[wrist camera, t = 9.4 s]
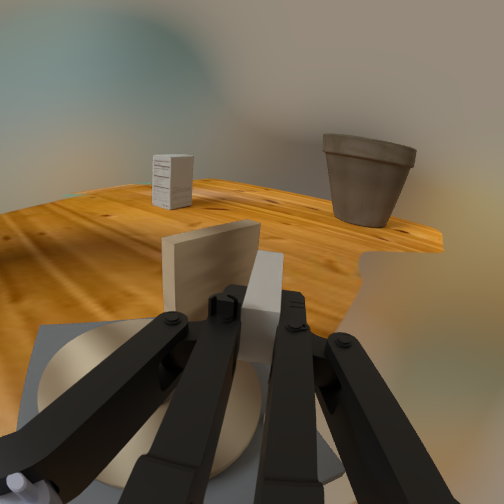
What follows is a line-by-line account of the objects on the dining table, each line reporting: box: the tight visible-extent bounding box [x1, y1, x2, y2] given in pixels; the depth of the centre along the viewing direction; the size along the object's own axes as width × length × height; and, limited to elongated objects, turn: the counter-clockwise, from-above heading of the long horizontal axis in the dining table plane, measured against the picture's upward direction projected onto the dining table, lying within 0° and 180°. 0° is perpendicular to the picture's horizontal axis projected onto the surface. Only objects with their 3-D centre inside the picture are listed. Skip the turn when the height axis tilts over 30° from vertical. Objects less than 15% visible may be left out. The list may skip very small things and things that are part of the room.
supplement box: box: [152, 154, 194, 210], centre depth 70 cm, size 7×7×13 cm
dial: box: [38, 219, 262, 490], centre depth 16 cm, size 17×15×10 cm
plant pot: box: [323, 134, 416, 227], centre depth 73 cm, size 25×25×22 cm
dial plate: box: [16, 317, 345, 504], centre depth 17 cm, size 19×19×1 cm
